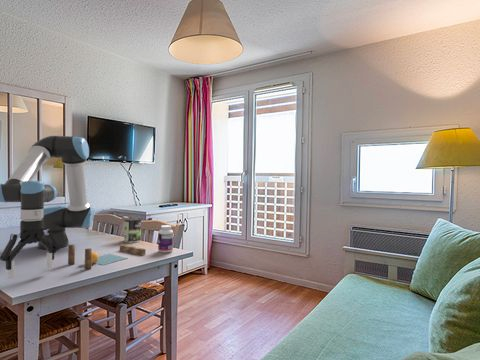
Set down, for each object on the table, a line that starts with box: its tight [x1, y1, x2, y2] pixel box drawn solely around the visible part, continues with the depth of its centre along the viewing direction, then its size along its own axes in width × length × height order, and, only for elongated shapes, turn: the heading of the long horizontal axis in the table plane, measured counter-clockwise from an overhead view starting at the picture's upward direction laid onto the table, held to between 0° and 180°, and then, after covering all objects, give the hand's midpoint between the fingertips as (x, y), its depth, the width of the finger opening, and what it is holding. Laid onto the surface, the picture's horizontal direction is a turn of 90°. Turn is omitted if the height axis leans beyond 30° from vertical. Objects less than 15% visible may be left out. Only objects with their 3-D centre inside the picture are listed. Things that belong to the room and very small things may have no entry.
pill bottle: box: [157, 224, 174, 254], centre depth 164 cm, size 8×8×14 cm
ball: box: [91, 251, 99, 265], centre depth 139 cm, size 6×6×6 cm
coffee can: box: [123, 217, 142, 244], centre depth 187 cm, size 10×10×14 cm
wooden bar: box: [119, 244, 147, 256], centre depth 160 cm, size 18×2×3 cm, turn 61°
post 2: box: [84, 247, 93, 271], centre depth 131 cm, size 3×3×9 cm
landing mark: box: [95, 253, 128, 266], centre depth 146 cm, size 14×14×1 cm
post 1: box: [67, 244, 76, 266], centre depth 137 cm, size 3×3×9 cm
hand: (31, 272), depth 117 cm, fingers open, 13 cm apart
